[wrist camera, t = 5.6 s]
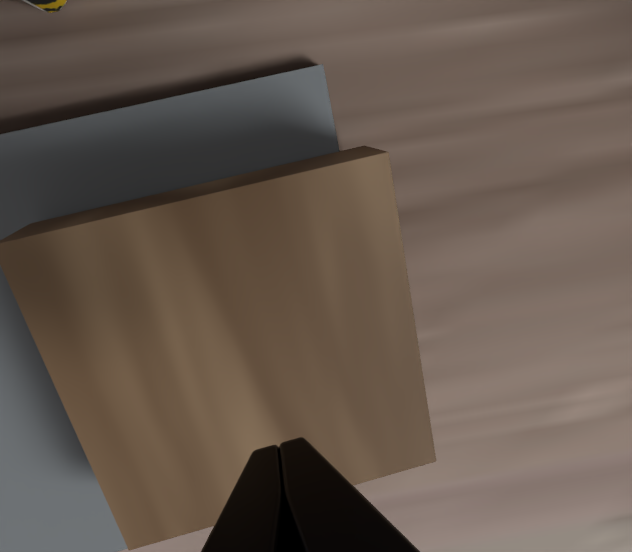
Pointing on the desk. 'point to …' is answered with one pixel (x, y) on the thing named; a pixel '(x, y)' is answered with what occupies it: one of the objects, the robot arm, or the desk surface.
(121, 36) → the desk surface
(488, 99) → the desk surface
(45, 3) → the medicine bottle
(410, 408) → the tile
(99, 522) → the mat
